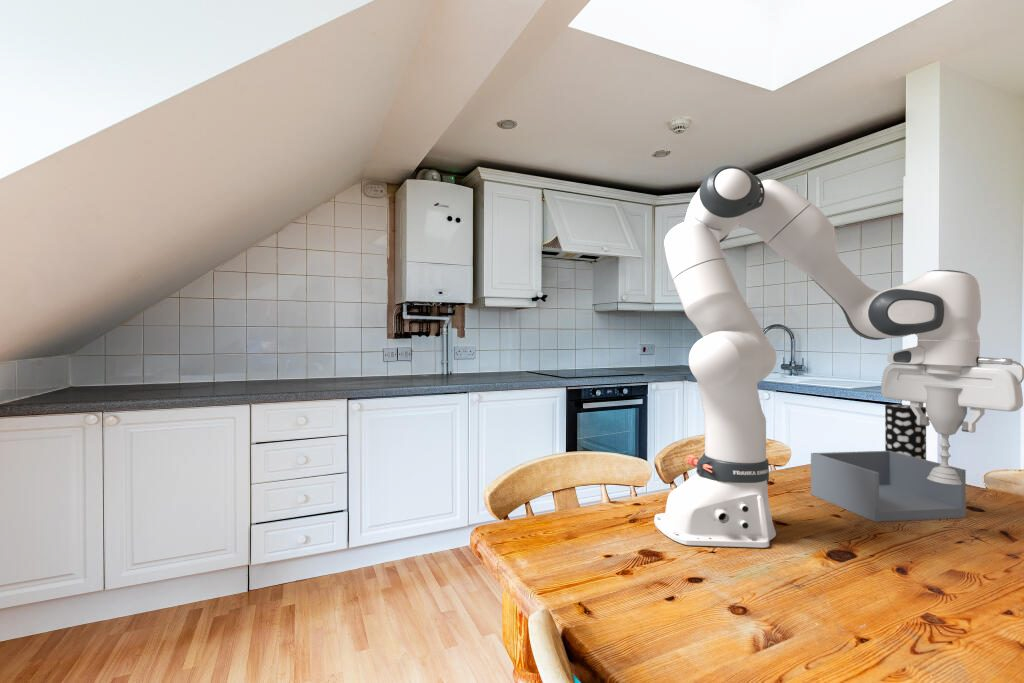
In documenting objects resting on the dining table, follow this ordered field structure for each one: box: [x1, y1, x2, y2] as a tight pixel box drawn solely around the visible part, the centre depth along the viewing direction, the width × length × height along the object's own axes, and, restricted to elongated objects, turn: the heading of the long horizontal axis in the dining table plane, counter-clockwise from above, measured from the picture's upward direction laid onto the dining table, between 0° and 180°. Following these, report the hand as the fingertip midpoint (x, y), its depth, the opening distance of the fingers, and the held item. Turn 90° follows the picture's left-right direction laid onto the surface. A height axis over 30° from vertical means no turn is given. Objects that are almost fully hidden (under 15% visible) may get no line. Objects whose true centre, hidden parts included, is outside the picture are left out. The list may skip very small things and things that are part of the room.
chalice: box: [923, 385, 968, 485], centre depth 92 cm, size 7×7×18 cm
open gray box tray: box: [810, 450, 967, 523], centre depth 109 cm, size 21×18×10 cm
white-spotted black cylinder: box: [884, 403, 927, 460], centre depth 126 cm, size 8×8×20 cm
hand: (945, 428), depth 92 cm, fingers closed on chalice, 5 cm apart
